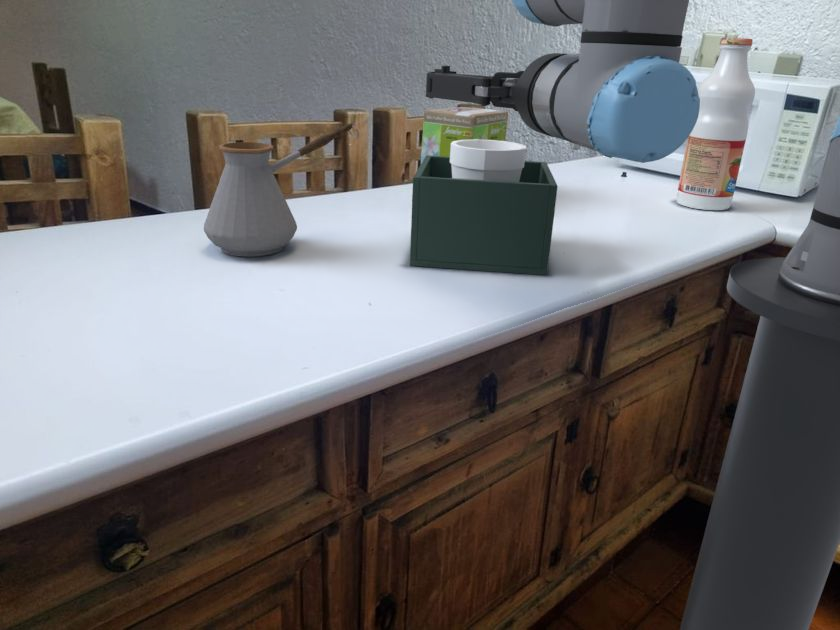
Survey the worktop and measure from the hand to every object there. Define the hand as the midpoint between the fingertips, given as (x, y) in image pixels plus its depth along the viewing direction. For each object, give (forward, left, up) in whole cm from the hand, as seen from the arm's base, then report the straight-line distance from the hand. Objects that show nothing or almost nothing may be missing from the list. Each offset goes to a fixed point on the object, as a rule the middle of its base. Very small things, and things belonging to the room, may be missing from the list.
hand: (490, 82), depth 80 cm
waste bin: (-1, +1, -21) cm, 21 cm away
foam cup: (-1, +1, -20) cm, 20 cm away
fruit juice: (-7, -54, -21) cm, 59 cm away
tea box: (+25, -24, -21) cm, 41 cm away
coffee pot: (+17, +19, -21) cm, 33 cm away
